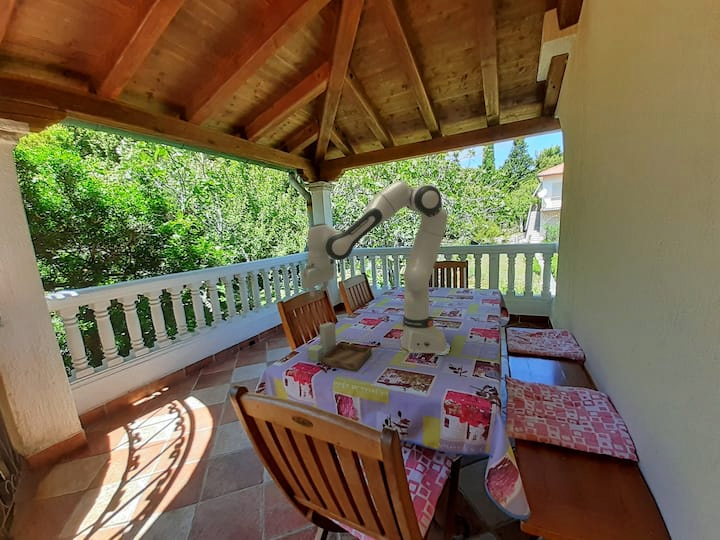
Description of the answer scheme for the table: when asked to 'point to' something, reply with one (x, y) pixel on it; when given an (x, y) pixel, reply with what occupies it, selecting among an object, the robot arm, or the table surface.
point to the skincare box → (327, 336)
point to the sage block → (315, 353)
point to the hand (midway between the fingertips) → (318, 293)
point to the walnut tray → (346, 356)
